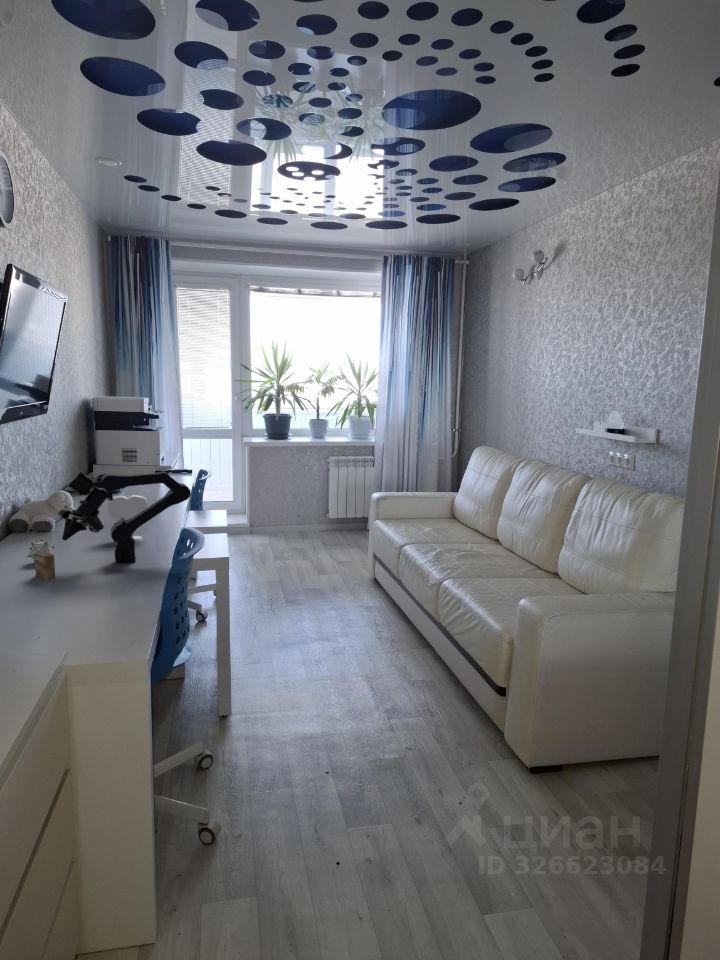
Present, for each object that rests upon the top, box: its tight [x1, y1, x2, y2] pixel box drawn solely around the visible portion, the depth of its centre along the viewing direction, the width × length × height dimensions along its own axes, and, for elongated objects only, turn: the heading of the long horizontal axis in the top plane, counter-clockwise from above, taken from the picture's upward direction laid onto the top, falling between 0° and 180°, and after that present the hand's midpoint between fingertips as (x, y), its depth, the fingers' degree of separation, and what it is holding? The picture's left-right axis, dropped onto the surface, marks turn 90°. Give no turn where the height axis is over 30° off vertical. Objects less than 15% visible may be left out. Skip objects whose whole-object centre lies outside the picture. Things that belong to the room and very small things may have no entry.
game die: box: [26, 538, 55, 563], centre depth 231 cm, size 9×8×10 cm
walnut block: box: [34, 551, 56, 581], centre depth 215 cm, size 3×7×8 cm, turn 53°
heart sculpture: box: [106, 494, 148, 540], centre depth 267 cm, size 16×5×18 cm, turn 107°
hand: (63, 540), depth 220 cm, fingers closed
